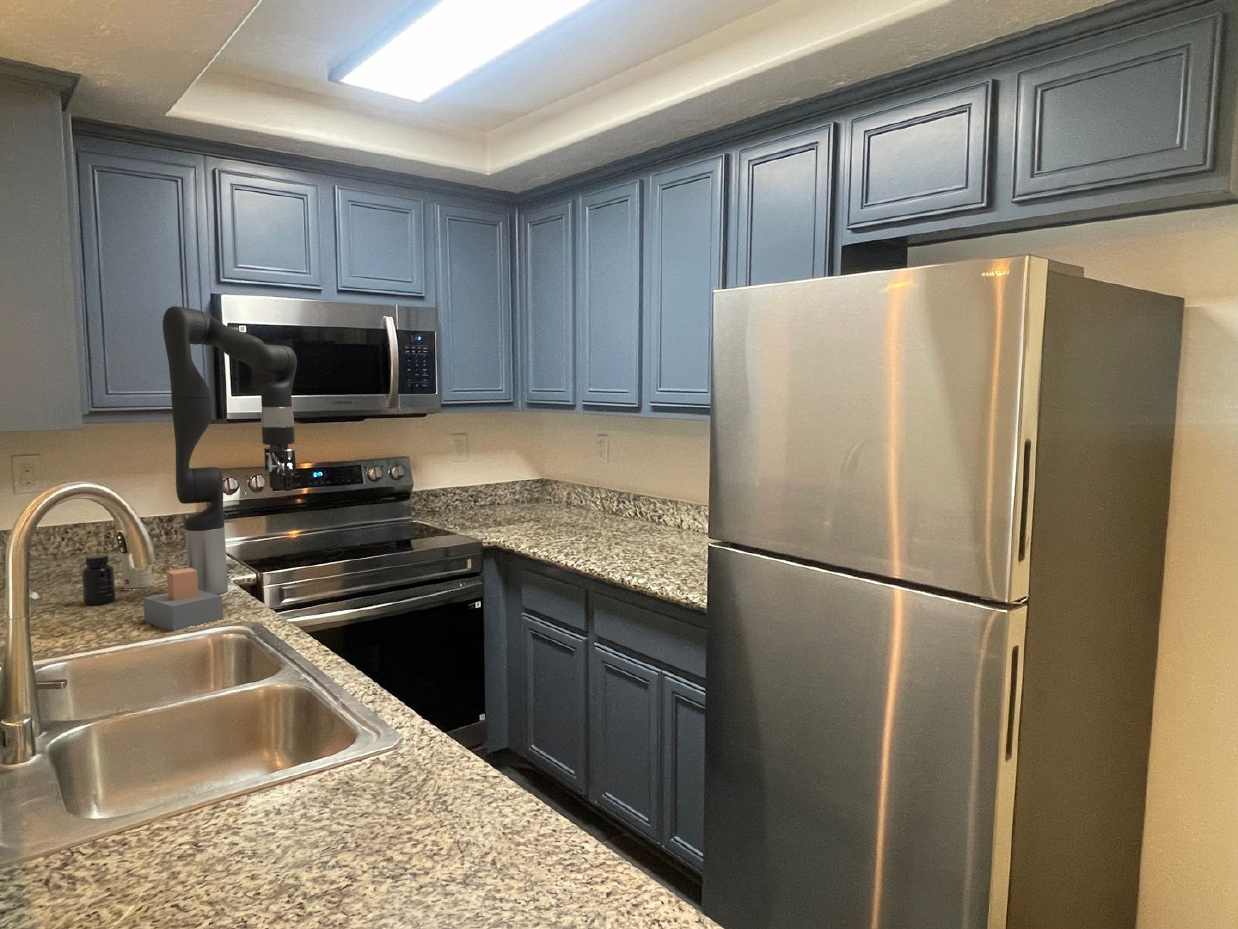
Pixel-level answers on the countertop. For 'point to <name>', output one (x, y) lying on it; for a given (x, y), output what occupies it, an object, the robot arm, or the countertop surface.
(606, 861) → the countertop surface
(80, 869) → the countertop surface
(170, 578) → the terracotta block
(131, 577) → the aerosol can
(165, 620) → the charcoal storage box
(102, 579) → the supplement bottle
